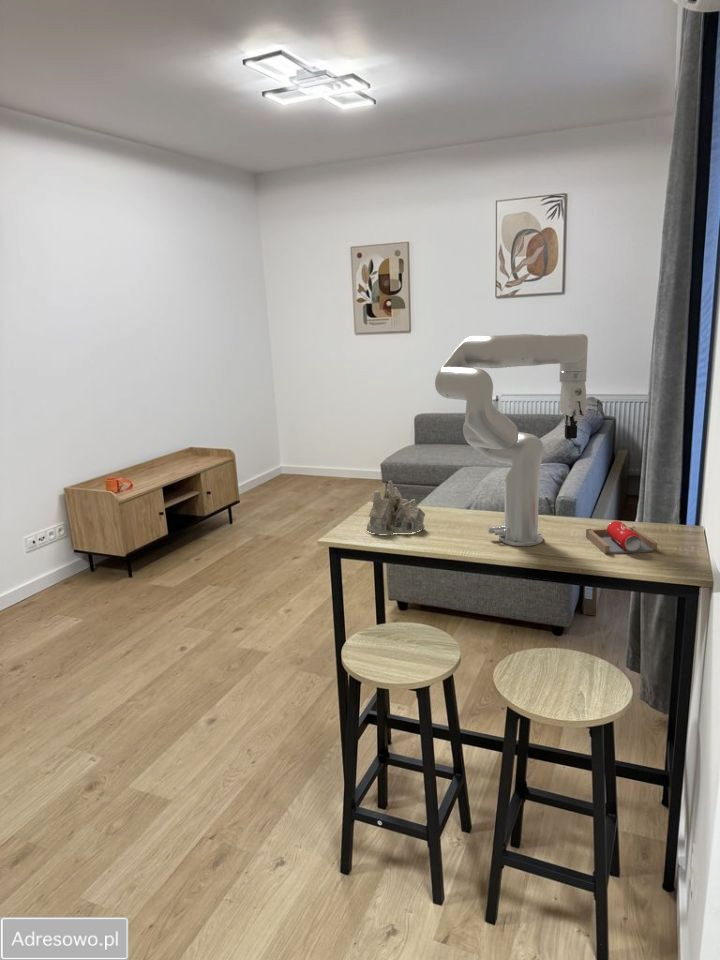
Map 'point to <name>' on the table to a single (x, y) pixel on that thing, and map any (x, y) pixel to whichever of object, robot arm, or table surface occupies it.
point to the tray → (612, 547)
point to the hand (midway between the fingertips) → (570, 437)
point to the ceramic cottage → (394, 513)
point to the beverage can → (624, 536)
